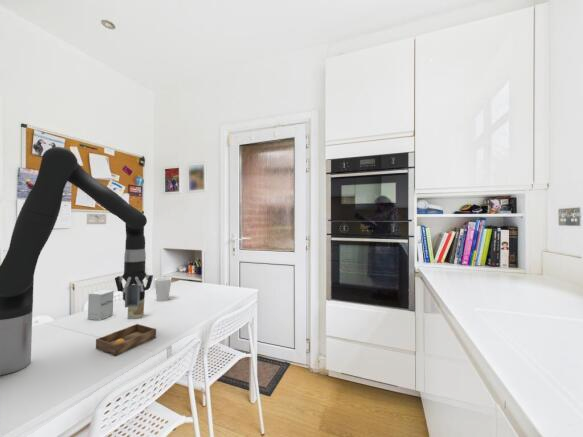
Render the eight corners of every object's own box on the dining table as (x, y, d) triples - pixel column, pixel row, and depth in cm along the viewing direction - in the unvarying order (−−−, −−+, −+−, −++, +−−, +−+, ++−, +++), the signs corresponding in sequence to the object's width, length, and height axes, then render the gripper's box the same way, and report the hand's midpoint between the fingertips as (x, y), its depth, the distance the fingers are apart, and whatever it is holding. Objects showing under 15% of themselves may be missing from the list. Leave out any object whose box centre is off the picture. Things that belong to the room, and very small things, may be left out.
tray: (115, 356, 89) (115, 346, 89) (95, 348, 94) (96, 339, 94) (155, 337, 104) (156, 329, 104) (137, 331, 109) (137, 323, 109)
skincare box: (127, 319, 123) (127, 294, 123) (130, 315, 127) (130, 291, 127) (141, 317, 124) (142, 293, 125) (144, 314, 129) (145, 291, 129)
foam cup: (154, 298, 156) (155, 277, 156) (171, 296, 160) (171, 276, 160) (153, 303, 147) (154, 280, 147) (170, 301, 151) (171, 279, 151)
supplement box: (99, 320, 120) (100, 294, 120) (87, 319, 122) (87, 293, 122) (113, 315, 127) (114, 290, 128) (101, 314, 129) (102, 289, 129)
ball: (128, 341, 96) (123, 348, 93) (121, 344, 96) (115, 351, 93) (123, 335, 95) (118, 342, 92) (116, 338, 95) (110, 344, 92)
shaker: (129, 303, 106) (129, 284, 106) (142, 302, 107) (142, 284, 107) (124, 307, 101) (125, 287, 101) (138, 306, 102) (139, 286, 102)
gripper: (111, 261, 99) (110, 304, 98) (151, 260, 103) (150, 302, 102) (118, 258, 106) (117, 299, 106) (156, 258, 110) (155, 296, 109)
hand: (134, 300), depth 104 cm, fingers closed on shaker, 5 cm apart
